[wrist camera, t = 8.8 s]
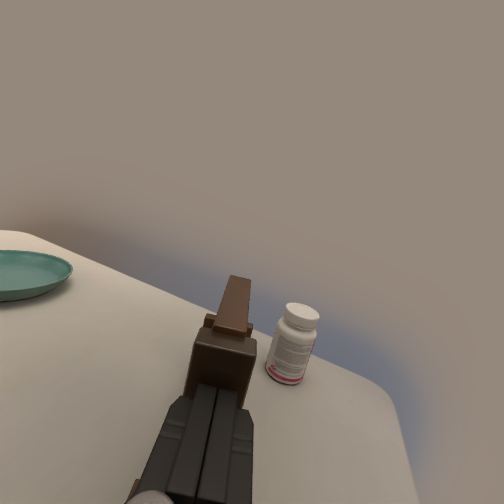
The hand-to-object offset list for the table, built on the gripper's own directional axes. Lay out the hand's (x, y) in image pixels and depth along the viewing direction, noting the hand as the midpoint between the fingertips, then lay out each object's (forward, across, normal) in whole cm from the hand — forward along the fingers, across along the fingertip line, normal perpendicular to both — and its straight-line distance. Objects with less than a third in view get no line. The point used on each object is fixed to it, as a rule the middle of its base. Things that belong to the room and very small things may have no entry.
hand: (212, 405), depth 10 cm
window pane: (+4, 0, +10) cm, 11 cm away
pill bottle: (+20, -8, +12) cm, 25 cm away
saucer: (+25, +31, +12) cm, 42 cm away
